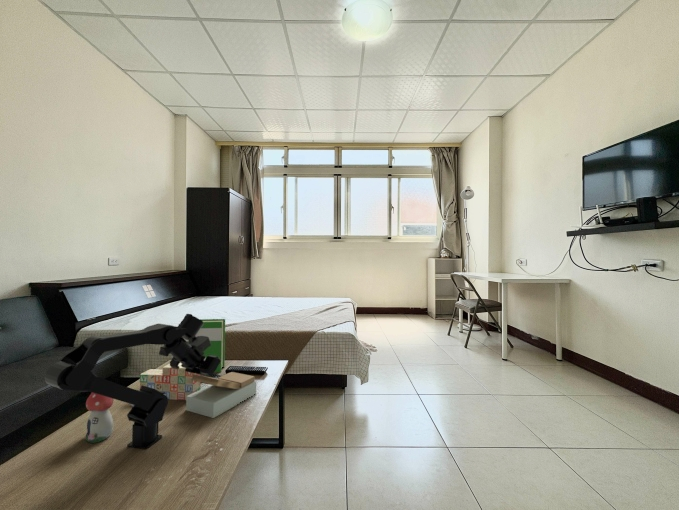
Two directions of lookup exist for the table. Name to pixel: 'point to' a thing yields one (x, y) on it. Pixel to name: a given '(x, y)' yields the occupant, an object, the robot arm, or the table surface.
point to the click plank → (215, 381)
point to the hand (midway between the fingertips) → (208, 374)
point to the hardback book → (214, 339)
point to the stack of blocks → (171, 381)
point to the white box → (221, 395)
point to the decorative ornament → (99, 418)
